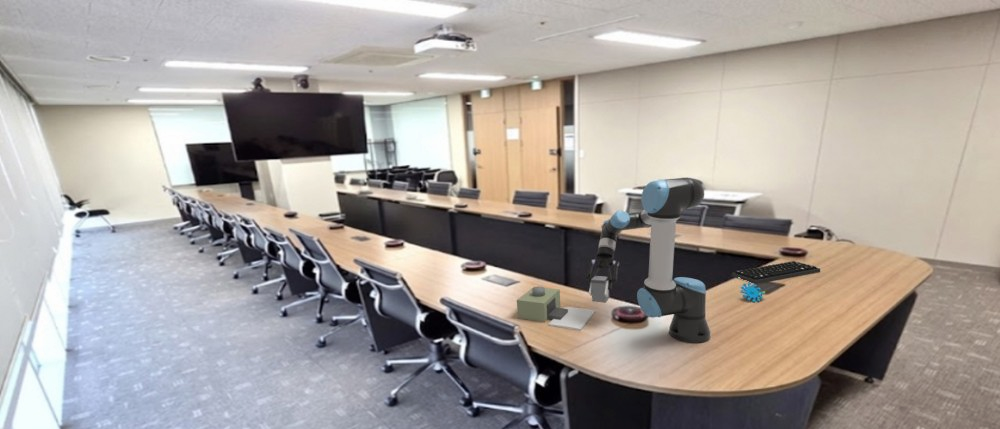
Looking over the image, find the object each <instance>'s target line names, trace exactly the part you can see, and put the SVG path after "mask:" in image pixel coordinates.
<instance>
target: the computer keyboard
mask: <svg viewBox="0 0 1000 429" xmlns="http://www.w3.org/2000/svg"><path fill="white" fill-rule="evenodd" d="M819 273H821V268H819V267H817V266H816V265H810V264H807V263H804V262H803V263H802V262H799V261H795V260H793V261H791V260H790V261H785V262H781V263H776V264H772V265H770V264H769V265H764V266H759V267H758V266H756V267H752V268H748V269H747V268H746V269H740V270H735V272H732V273H731V277H732V278H734V279H738V277H740V278H741V279H743V280H742V281H744V280H747V281H749V282H748V283H750V282H751V284H753V283H754V284H755V285H760V284H764V283H765V282H766V283H770V282H771V283H772V282H776V281H781V280H786V279H791V278H792V279H793V278H797V277H801V276H802V277H803V276H808V275H812V274H819ZM741 279H740V280H741ZM747 281H746V282H747ZM759 283H760V284H759ZM766 283H765V284H766ZM754 284H753V285H754Z"/></svg>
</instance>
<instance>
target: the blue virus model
mask: <svg viewBox="0 0 1000 429" xmlns="http://www.w3.org/2000/svg"><path fill="white" fill-rule="evenodd" d="M756 287H757V284H752V283H750V282H748V283H746V282H745V283H743V284H742V285H741V287H740V293H741V294H742V297H743V298H746V300H747V301H748V302H750V301H751V302H752V303H756V302H757V301H759V302H761V300H762V299H763V298H764V297H763V295H765V293H766V291H761V290H762V289H761V288H760V286H759V287H757V288H756ZM747 297H748V298H747ZM751 299H752V300H751Z"/></svg>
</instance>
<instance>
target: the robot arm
mask: <svg viewBox="0 0 1000 429" xmlns="http://www.w3.org/2000/svg"><path fill="white" fill-rule="evenodd" d="M704 198H705V190H704V186H703V185H702V184H701V183H700V182H699V180H697V179H695V178H691V177H679V178H665V179H658V180H652V181H649V182H647V184H646V185H645V186H644V188H643V190H642V192H641V204H642V208H643V209H642V210H640V211H637V212H626V211H624V210H617V211H616V212H614V213H613V214H612V215H611V217H610V218H608V219H607V220H604V221H603V223H602V226H601V232H600V239H599V241H598V249H597V253H596V257H595V258H594V259H592V258H590V259H588V262H589V264H588V268H587V271H586V274H585V279H586V280H587V281H588V283H587V287H588V288H589V289H588V294H589V296H591V297H592V288H591V279H592V278H593V277H594V276H598V273H599V271H601V269H606V272H607V274H606V275H607V277H608V281H607V283H606V288H605V296H606V297H608V291H609V292H610V291H611V290H612V286H613V284H615V283H617V282H618V269H619V267H620V261H619V260H614V257H615V251H616V246H617V245H616V244H617V240H618V239H617V238H618V236H619V235H620V234H621V233H622V232H623V231H629V230H637V229H645V228H646V229H648V228H650V244H649V264H648V277H647V278H645V280H644V283H643V287H641V288H639V289H638V290H637V292H636V293H637V294H636V298H637V303H638V306H639V307H640V309H641V311H642V312H643V313H644V314H645V316H647V317H648V318H661V317H665V316H671V315H673V316H672V318H671V321H670V325H669V330H668V333H669V335H670V336H671V337H672V336H673V337H674V338H673V337H672V338H673V339H675V338H676V340H677V339H678V341H680V340H682V341H681V342H684V341H686V342H685V343H690V342H693V344H696V342H697V344H698V342H700V343H705V342H707V341H709V340H710V339H711V330H710V328H709V324H708V321H707V318H706V298H707V297H706V296H707V295H706V294H707V292H706V284H705V283H704V282H702V281H701V280H699V279H695V278H691V277H685V276H683V277H682V276H679V277H675V278H674V279H673V276H674V275H673V273H674V257H675V242H676V230H677V229H676V227H677V226H676V225H677V221H678V220H679V219H680V218H682V211H689V210H692V209H694V208H696V207H699V205H701V204H702V202H703V201H704ZM595 263H596V264H595ZM594 266H595V268H594ZM611 266H613V274H612V273H611ZM593 268H594V269H593ZM612 275H613V276H612ZM704 341H705V342H704ZM694 342H695V343H694Z"/></svg>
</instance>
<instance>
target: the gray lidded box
mask: <svg viewBox="0 0 1000 429" xmlns="http://www.w3.org/2000/svg"><path fill="white" fill-rule="evenodd" d="M607 281H609V280H608V276H603V275H596V276H594V277H593V278H592V279H591V288H592V296H591V302H596V303H602V304H603V303H607V302H608V300H609V299H610V290H609V291H608V297H606V296H605V288H606V283H607Z"/></svg>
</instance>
